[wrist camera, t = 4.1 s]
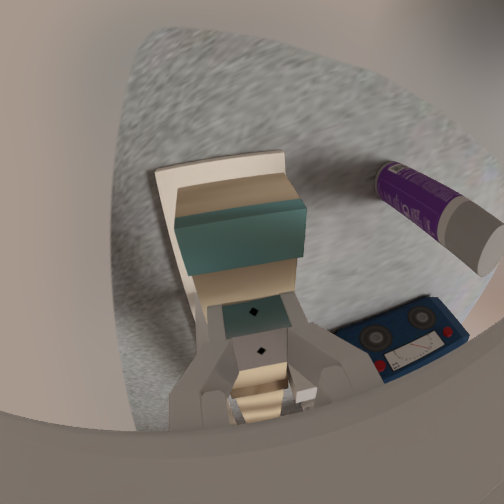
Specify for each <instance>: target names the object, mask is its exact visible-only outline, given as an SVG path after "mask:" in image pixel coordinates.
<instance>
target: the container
mask: <svg viewBox="0 0 504 504" xmlns="http://www.w3.org/2000/svg"><path fill="white" fill-rule="evenodd" d="M374 185H375V191H376V194H377V195H378V197H379V198H381V199H382V200H383V201H385V202H386V203H388V204H389V205H390V206H392V207H393V208H395V209H396V210H397V211H399V212H400V213H401V214H403V215H404V216H406V217H407V218H408V219H410V220H411V221H412V222H414V223H415V224H416V225H417V226H419V227H420V228H421V229H423V230H424V231H425V232H426V233H428V234H429V235H430V236H431V237H433V238H434V239H435V240H436V241H438V242H439V243H440V244H441V245H443V246H444V247H445V248H446V249H448V250H449V251H450V252H452V253H453V254H454V255H455V256H456V257H458V258H459V259H460V260H461V261H462V262H464V263H465V264H466V265H467V266H468V267H470V268H471V269H472V270H473V271H474V272H475V273H476V274H478V275H479V276H480V277H483V276H486V275H487V274H489V273H490V272H491V271H492V270H493V269H494V268H495V267H496V265H497V264H498V262H499V261H500V259H501V257H502V255H503V253H504V223H502V222H501V221H500V220H498V219H497V218H495V217H494V216H493V215H491V214H490V213H488V212H487V211H486V210H484V209H483V208H481V207H480V206H478V205H477V204H475V203H474V202H472V201H471V200H469V199H468V198H466V197H465V196H463V195H461V194H459V193H458V192H456V191H454V190H452V189H451V188H449V187H447V186H445V185H443V184H441V183H440V182H438V181H436V180H434V179H432V178H430V177H428V176H426V175H424V174H422V173H420V172H418V171H416V170H414V169H411V168H409V167H407V166H405V165H403V164H401V163H398V162H395V161H391V162H387V163H385V164H384V165H383V166H382V167H381V168H380V169H379V170H378V172H377V174H376V177H375V183H374Z"/></svg>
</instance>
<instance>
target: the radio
mask: <svg viewBox="0 0 504 504" xmlns="http://www.w3.org/2000/svg"><path fill="white" fill-rule="evenodd" d="M334 335H336V336H337V337H339V338H341V339H343V340H344V341H346V342H348V343H350V344H351V345H353V346H355V347H357V348H359V349H360V350H362V351H364V352H366V353H367V354H368V355H369V357H370V358H371V360H372V362H373V364H374V366H375V367H376V369H377V371H378V373H379V375H380V377H381V379H382V380H383V382H384V384H386V383H388V382H391V381H393V380H395V379H397V378H400V377H402V376H404V375H406V374H409V373H411V372H413V371H415V370H417V369H419V368H421V367H423V366H425V365H427V364H429V363H431V362H433V361H435V360H437V359H439V358H440V357H442V356H444V355H446V354H448V353H449V352H451V351H453V350H455V349H456V348H458V347H460V346H461V345H463V344H465V343H466V342H467V341H468V339H469V336H470V335H469V333H468V332H467V331H466V330H465V329H464V328H463V326H462V325H461V324H460V322H459V321H458V320H457V319H456V318H455V316H454V315H453V314H452V313H451V312H450V311H449V309H448V308H447V307H446V306H445V305H444V304H443V303H442V301H441V300H440V299H439V298H438V297H423V298H420V299H418V300H416V301H413V302H411V303H409V304H406V305H404V306H401V307H399V308H396V309H394V310H391V311H389V312H386V313H384V314H381V315H378V316H376V317H373V318H370V319H368V320H365V321H362V322H359V323H356V324H354V325H351V326H348V327H345V328H342V329H339V330H338V331H337V332H336V333H335V334H334Z"/></svg>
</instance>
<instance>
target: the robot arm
mask: <svg viewBox="0 0 504 504" xmlns="http://www.w3.org/2000/svg"><path fill="white" fill-rule="evenodd" d="M207 323H208V337H209V342H207V343H204V344H203V346H202V347H201V349H200V350H199V352H198V353H197V355H196V356H195V358H194V359H193V360H192V362H191V363H190V365H189V366H188V368H187V369H186V371H185V372H184V374H183V375H182V376H181V378H180V379H179V381H178V382H177V384H176V385H175V387H174V388H173V389H172V391H171V392H170V394H169V431H154V432H139V431H133V432H132V431H112V430H98V429H88V428H79V427H72V426H65V425H59V424H53V423H48V422H42V421H38V420H33V419H29V418H25V417H21V416H17V415H13V414H9V413H6V412H3V411H0V504H504V318H502V319H501V320H499V321H498V322H497V323H495V324H494V325H492V326H491V327H489V328H488V329H487V330H485V331H484V332H482V333H481V334H479V335H478V336H476V337H474V338H473V339H471V340H470V341H468V342H466V343H465V344H463V345H461V346H460V347H458V348H456V349H455V350H453V351H451V352H449V353H448V354H446V355H444V356H442V357H440V358H439V359H437V360H435V361H433V362H431V363H429V364H427V365H425V366H423V367H421V368H419V369H417V370H415V371H413V372H411V373H409V374H406V375H404V376H402V377H400V378H397V379H395V380H393V381H391V382H388V383H386V384H384V382H383V380H382V379H381V377H380V375H379V373H378V371H377V369H376V367H375V366H374V364H373V362H372V360H371V358H370V357H369V355H368V354H367V353H366V352H364V351H362V350H360V349H359V348H357V347H355V346H353V345H351V344H350V343H348V342H346V341H344V340H343V339H341V338H339V337H337V336H336V335H334V334H332V333H331V332H329V331H327V330H325V329H324V328H322V327H320V326H318V325H317V324H315V323H313V322H311V323H308V321H307V319H306V316H305V314H304V312H303V310H302V308H301V305H300V303H299V301H298V299H297V297H296V294H295V292H294V291H288V292H284V293H279V294H275V295H270V296H265V297H260V298H255V299H250V300H243V301H237V302H230V303H223V304H218V305H211V306H207ZM284 362H287V363H288V364H289V365H290V366H292V367H293V368H294V369H295V370H296V371H298V372H299V373H300V374H301V375H302V376H304V377H305V378H306V379H307V380H308V381H310V382H311V383H312V384H313V385H314V386H316V387H317V393H316V397H315V398H314V399H311V400H307V401H304V402H302V403H301V407H302V410H303V411H302V412H298V413H294V414H289V415H285V416H281V417H276V418H271V419H267V420H261V421H256V422H250V423H244V424H238V425H237V423H236V421H235V418H234V416H233V413H232V411H231V408H230V406H229V403H228V401H227V399H228V397H229V394H230V392H231V390H232V388H233V386H234V384H235V381H236V379H237V377H238V375H239V371H243V370H248V369H253V368H258V367H262V366H268V365H273V364H279V363H284Z"/></svg>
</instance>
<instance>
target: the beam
mask: <svg viewBox="0 0 504 504" xmlns="http://www.w3.org/2000/svg"><path fill="white" fill-rule="evenodd" d="M306 214H307V208H306V206H305V205H304V203H303V201H302V200H301V198H300V197H299V195H298V194H297V192H296V191H295V189H294V187H293V186H292V184H291V183H290V181H289V180H288V178H287V177H286V175H285V174H284V172H282V173H274V174H265V175H257V176H250V177H242V178H235V179H228V180H222V181H215V182H209V183H203V184H197V185H192V186H186V187H181V188H178V190H177V199H176V209H175V220H174V232H175V235H176V239H177V242H178V246H179V249H180V252H181V255H182V259H183V262H184V265H185V268H186V271H187V274H188V276H192V279H193V282H194V285H195V288H196V291H197V294H198V297H199V300H200V303H201V306H202V309H203V312H204V315H205V318H206V321H207V306H211V305H218V304H223V303H230V302H237V301H243V300H250V299H255V298H260V297H265V296H270V295H275V294H279V293H284V292H288V291H294V292H295V280H296V267H297V258H299V257H303V253H304V241H305V228H306ZM207 324H208V323H207ZM286 368H287V362H284V363H279V364H273V365H268V366H262V367H258V368H253V369H248V370H243V371H239V375H238V377H237V379H236V381H235V384H234V386H233V388H232V390H231V392H230V394H231V397H232V399H234V398H236V400H237V403H238V405H239V407H240V410H241V412H242V415H243V417H244V419H245V421H246V423H250V422H256V421H261V420H267V419H271V418H276V417H280V413H281V406H282V399H283V392H284V389H287V388H288V377H287V372H286Z"/></svg>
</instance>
